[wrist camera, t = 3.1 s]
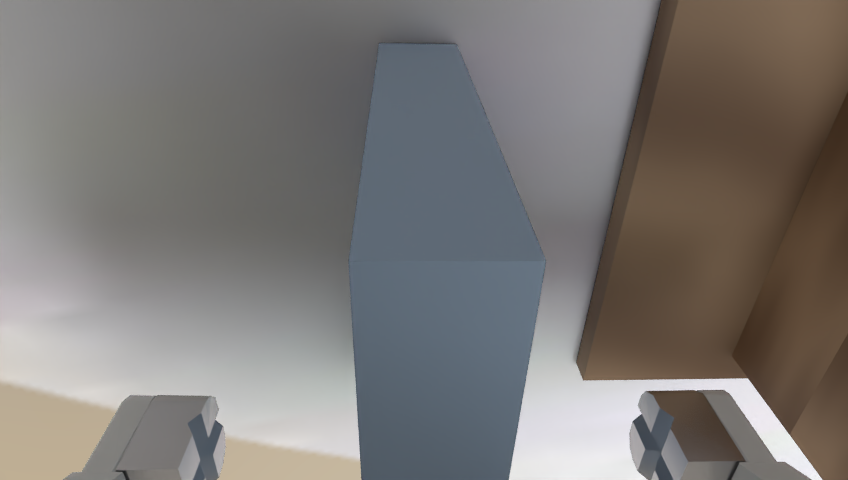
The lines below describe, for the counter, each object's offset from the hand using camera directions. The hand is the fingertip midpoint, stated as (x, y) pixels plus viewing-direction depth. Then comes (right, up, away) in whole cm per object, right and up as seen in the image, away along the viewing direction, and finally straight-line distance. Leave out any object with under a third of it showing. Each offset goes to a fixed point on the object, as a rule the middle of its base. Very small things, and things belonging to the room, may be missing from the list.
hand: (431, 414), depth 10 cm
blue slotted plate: (0, +4, +5) cm, 6 cm away
